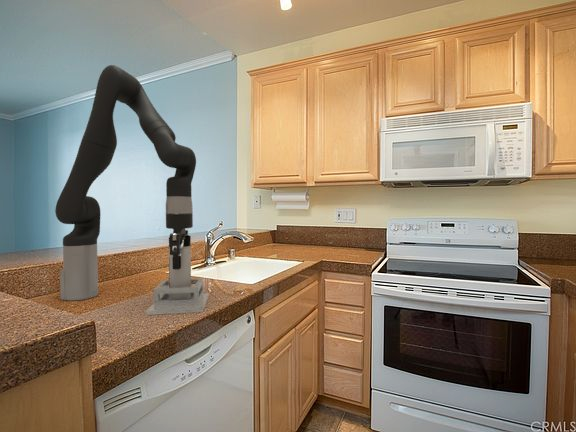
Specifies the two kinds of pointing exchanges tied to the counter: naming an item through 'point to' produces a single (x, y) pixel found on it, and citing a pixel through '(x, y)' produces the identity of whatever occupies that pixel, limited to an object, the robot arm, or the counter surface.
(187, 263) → the travel mug
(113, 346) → the counter surface
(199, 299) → the collar stand
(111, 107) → the robot arm
